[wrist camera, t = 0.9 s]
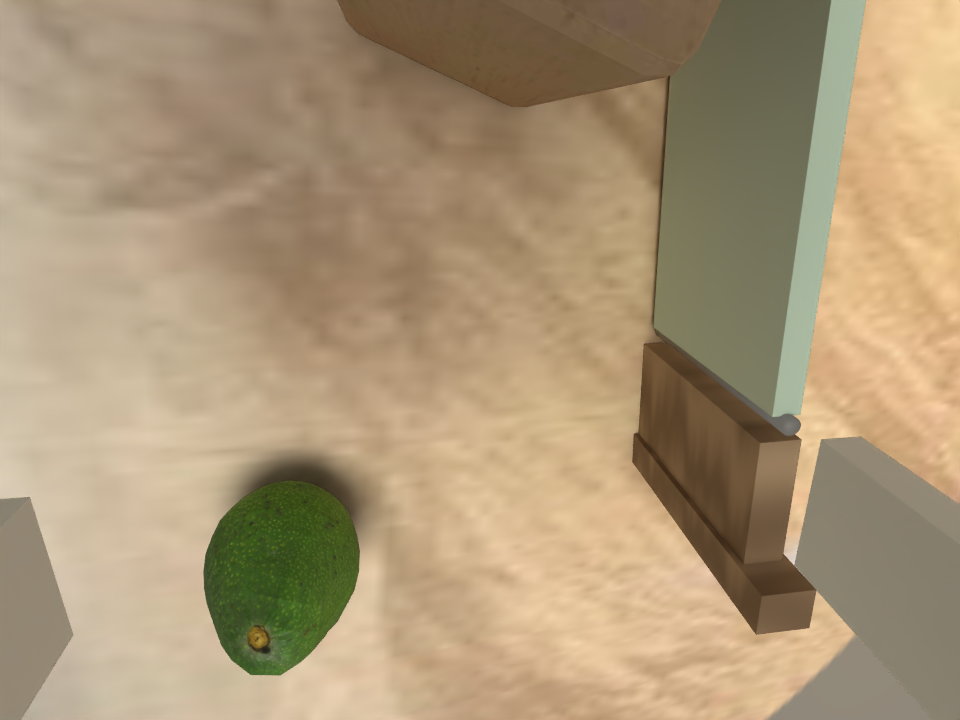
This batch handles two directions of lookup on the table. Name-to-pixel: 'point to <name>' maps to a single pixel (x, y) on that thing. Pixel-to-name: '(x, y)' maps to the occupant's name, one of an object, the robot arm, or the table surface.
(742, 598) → the wall frame
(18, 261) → the table surface
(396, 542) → the table surface
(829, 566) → the robot arm
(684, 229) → the door
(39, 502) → the table surface
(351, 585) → the fruit
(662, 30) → the wooden block
